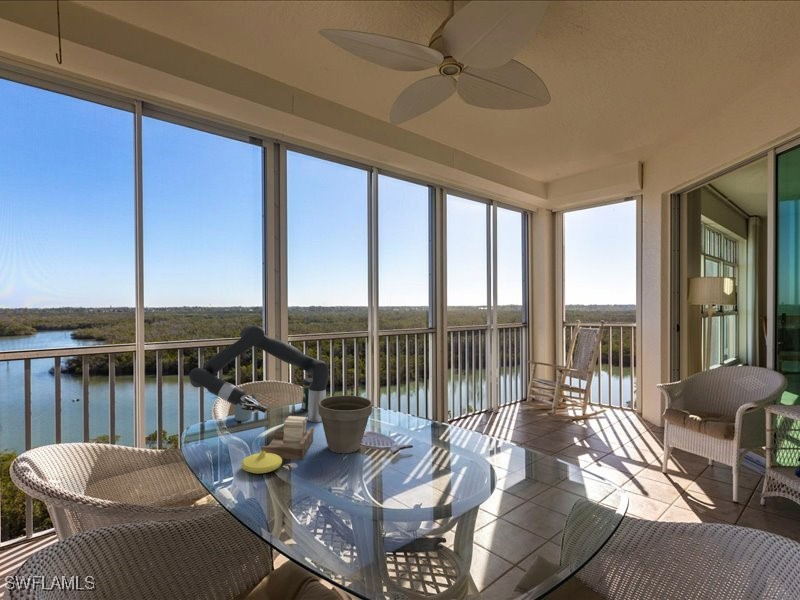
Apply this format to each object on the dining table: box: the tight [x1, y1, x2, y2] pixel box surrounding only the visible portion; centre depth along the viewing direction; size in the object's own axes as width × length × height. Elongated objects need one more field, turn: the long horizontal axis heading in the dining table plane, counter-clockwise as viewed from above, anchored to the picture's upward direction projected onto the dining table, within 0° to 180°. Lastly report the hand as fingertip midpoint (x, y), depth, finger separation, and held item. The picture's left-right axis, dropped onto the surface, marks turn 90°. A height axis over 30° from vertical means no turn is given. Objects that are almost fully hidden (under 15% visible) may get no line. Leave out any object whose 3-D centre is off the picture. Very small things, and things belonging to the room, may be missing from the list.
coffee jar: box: [301, 377, 313, 411], centre depth 250 cm, size 10×8×19 cm
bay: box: [260, 426, 315, 461], centre depth 188 cm, size 21×18×7 cm
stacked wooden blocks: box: [283, 415, 308, 448], centre depth 188 cm, size 8×8×12 cm
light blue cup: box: [234, 394, 253, 422], centre depth 226 cm, size 10×10×12 cm
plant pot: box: [318, 394, 373, 455], centre depth 193 cm, size 25×25×22 cm
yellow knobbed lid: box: [240, 450, 283, 475], centre depth 167 cm, size 16×16×7 cm
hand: (266, 410), depth 189 cm, fingers closed
